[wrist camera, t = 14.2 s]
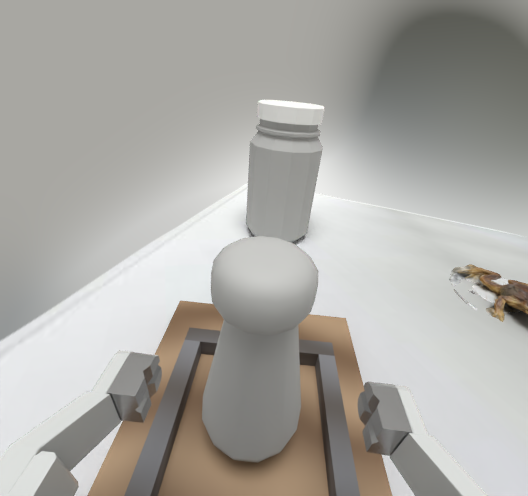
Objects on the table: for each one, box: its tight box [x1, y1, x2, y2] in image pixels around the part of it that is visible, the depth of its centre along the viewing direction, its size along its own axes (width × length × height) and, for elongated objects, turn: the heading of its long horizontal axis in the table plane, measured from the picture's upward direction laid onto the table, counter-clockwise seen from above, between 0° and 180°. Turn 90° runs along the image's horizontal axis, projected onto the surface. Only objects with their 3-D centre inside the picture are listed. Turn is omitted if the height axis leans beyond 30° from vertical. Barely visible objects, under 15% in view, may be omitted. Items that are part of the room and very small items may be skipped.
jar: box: [246, 100, 324, 243], centre depth 38 cm, size 10×10×18 cm
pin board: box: [88, 301, 392, 496], centre depth 17 cm, size 20×16×3 cm
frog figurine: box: [449, 265, 528, 322], centre depth 31 cm, size 12×12×4 cm
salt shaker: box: [202, 236, 318, 463], centre depth 14 cm, size 6×6×13 cm
